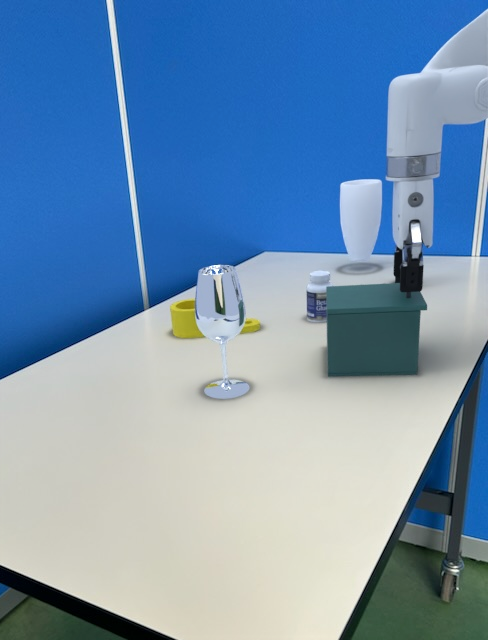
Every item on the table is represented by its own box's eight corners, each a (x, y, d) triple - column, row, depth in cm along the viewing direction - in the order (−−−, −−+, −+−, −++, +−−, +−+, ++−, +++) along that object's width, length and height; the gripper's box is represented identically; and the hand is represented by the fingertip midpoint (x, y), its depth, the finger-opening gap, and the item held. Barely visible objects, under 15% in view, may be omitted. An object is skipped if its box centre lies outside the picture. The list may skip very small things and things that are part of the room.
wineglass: (244, 377, 105) (235, 260, 97) (256, 396, 98) (248, 271, 90) (199, 385, 104) (186, 267, 96) (208, 404, 97) (195, 279, 89)
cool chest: (406, 347, 110) (409, 287, 105) (416, 376, 99) (420, 311, 94) (326, 349, 113) (326, 291, 108) (327, 378, 102) (327, 314, 97)
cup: (386, 272, 155) (389, 182, 145) (344, 277, 155) (344, 187, 146) (374, 263, 164) (376, 177, 155) (334, 267, 164) (334, 182, 155)
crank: (169, 340, 126) (166, 312, 124) (177, 326, 134) (174, 299, 131) (258, 336, 123) (257, 307, 120) (261, 322, 130) (259, 295, 128)
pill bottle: (316, 325, 125) (316, 278, 121) (301, 319, 129) (300, 273, 125) (339, 320, 127) (339, 272, 123) (323, 313, 131) (323, 268, 127)
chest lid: (415, 286, 105) (417, 254, 103) (427, 310, 94) (429, 274, 91) (326, 291, 108) (326, 260, 106) (327, 314, 97) (326, 280, 95)
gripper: (451, 171, 83) (441, 298, 90) (430, 159, 98) (423, 268, 106) (392, 176, 85) (387, 300, 92) (380, 163, 100) (377, 270, 107)
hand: (407, 283), depth 99 cm, fingers open, 8 cm apart
